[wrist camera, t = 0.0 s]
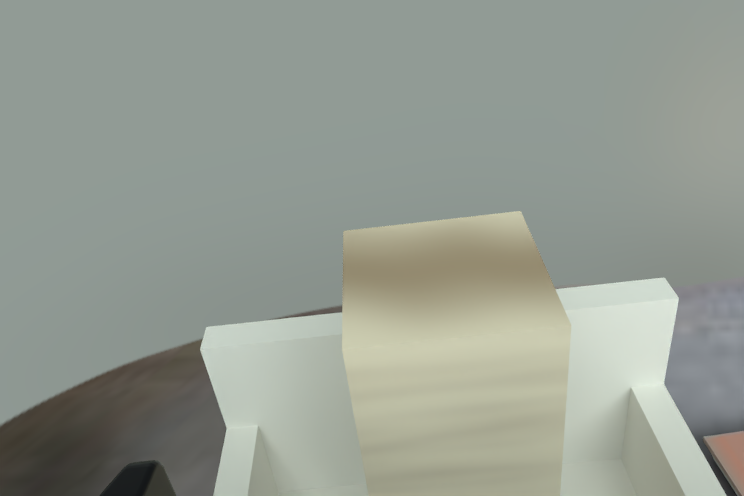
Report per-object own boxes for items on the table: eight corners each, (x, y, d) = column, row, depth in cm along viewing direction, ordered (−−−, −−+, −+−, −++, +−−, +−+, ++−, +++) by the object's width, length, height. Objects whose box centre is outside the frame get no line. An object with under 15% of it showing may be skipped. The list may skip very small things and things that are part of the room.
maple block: (550, 635, 21) (571, 325, 14) (396, 649, 21) (341, 349, 14) (517, 501, 25) (520, 211, 18) (388, 513, 26) (343, 231, 19)
